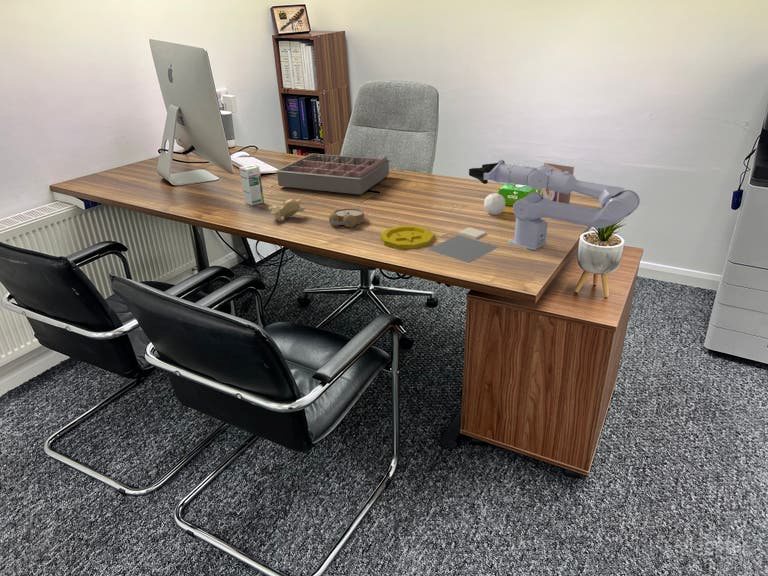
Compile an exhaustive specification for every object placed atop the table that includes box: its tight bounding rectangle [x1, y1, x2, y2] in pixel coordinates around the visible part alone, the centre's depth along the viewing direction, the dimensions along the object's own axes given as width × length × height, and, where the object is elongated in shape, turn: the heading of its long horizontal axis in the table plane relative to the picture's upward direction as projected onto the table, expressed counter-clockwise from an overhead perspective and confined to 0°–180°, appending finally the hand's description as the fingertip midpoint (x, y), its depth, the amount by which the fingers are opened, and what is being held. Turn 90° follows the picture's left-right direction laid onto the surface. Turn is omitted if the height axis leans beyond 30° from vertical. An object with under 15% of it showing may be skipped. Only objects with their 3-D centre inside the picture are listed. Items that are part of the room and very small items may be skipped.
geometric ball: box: [483, 192, 506, 216], centre depth 203 cm, size 8×8×8 cm
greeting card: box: [540, 162, 575, 204], centre depth 209 cm, size 11×7×15 cm, turn 18°
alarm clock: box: [328, 207, 365, 229], centre depth 199 cm, size 11×5×15 cm
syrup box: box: [239, 164, 265, 206], centre depth 220 cm, size 6×6×14 cm
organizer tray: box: [274, 153, 392, 195], centre depth 243 cm, size 32×40×10 cm
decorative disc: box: [380, 225, 435, 250], centre depth 184 cm, size 17×18×2 cm
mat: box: [427, 234, 499, 264], centre depth 176 cm, size 16×16×1 cm
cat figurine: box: [268, 198, 306, 223], centre depth 204 cm, size 8×7×12 cm
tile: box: [457, 226, 487, 240], centre depth 187 cm, size 7×2×6 cm
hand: (476, 169), depth 182 cm, fingers open, 7 cm apart
